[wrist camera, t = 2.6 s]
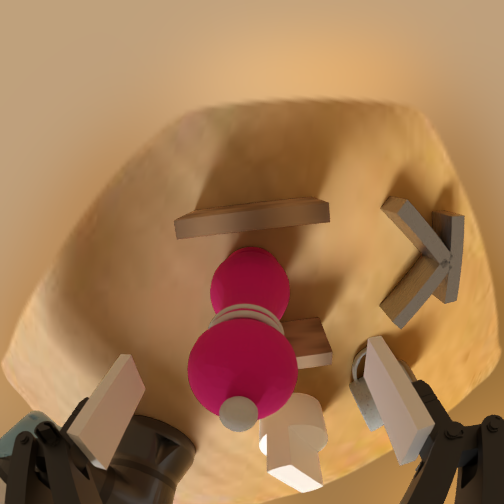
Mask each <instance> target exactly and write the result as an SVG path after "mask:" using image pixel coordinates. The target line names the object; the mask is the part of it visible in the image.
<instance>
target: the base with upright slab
mask: <svg viewBox="0 0 504 504" xmlns="http://www.w3.org/2000/svg"><path fill="white" fill-rule="evenodd" d="M327 441H328V435H327V430H326V426H325V421H324V417H323V412H322V408H321V405H320V403H319V401H318V400H317V399H316V398H314V397H313V396H310V395H308V394H303V393H292V395H291V397H290V398H289V400H288V401H287V402H286V404H285V405H284V406H283V407H282V408H280V409H279V410H278V411H277V412H275V413H274V414H271V415H269V416H267V417H265V418H263V419H259V448H260V450H261V452H262V453H263V454H264V455H266V456H267V473H269V474H270V475H272V476H274V477H275V478H277V479H279V480H280V481H282V482H284V483H286V484H287V485H289V486H291V487H293V488H294V489H296V490H298V491H300V492H302V493H304V492H308V491H312V490H315V489H318V488H320V487H322V486H323V480H322V473H321V467H320V461H319V456H318V452H319V451H321V450H322V449H323V448H324V447H325V446H326V444H327Z"/></svg>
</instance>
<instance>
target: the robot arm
mask: <svg viewBox="0 0 504 504" xmlns="http://www.w3.org/2000/svg"><path fill="white" fill-rule="evenodd" d="M364 379H365V381H366V383H367V386H368V388H369V390H370V393H371V395H372V397H373V400H374V402H375V404H376V407H377V409H378V412H379V414H380V416H381V419H382V421H383V424H384V426H385V429H386V431H387V434H388V436H389V439H390V441H391V444H392V447H393V449H394V452H395V454H396V457H397V460H398V462H399V465H403V464H406V463H409V462H412V461H415V460H416V458H417V457H418V455H419V454H420V456H421V459H422V461H421V462H420V464H419V465H418V467H417V468H416V473H415V475H414V477H413V479H412V481H411V483H410V485H409V487H408V489H407V491H406V493H405V495H404V497H403V499H402V500H401V502H400V504H443V503H444V501H445V499H446V496H447V494H448V491H449V488H450V486H451V483H452V481H453V478H454V475H455V472H456V469H457V468H458V478H457V488H456V497H455V504H504V420H503V419H502V418H501V417H500V416H498V415H490V416H487V417H486V418H485V419H484V420H483V422H482V424H479V425H473V426H463V425H462V424H461V423H458V422H453V421H452V420H451V419H450V417H449V415H448V414H447V412H446V411H445V409H444V407H443V406H442V404H441V403H440V401H439V400H438V399H437V397H436V395H435V394H434V392H433V390H432V389H431V387H430V386H429V385H428V384H427V383H425V382H424V381H422V380H418V381H415V382H410V380H409V379H408V377H407V375H406V374H405V372H404V371H403V369H402V367H401V366H400V364H399V363H398V361H397V359H396V358H395V356H394V355H393V353H392V352H391V350H390V348H389V347H388V345H387V344H386V342H385V341H384V339H383V338H382V336H376V337H370V338H368V343H367V352H366V361H365V368H364ZM145 390H146V389H145V386H144V384H143V382H142V379H141V377H140V375H139V372H138V370H137V368H136V365H135V363H134V360H133V358H132V355H131V354H120V355H119V357H118V358H117V360H116V361H115V362H114V364H113V365H112V367H111V368H110V369H109V371H108V372H107V374H106V375H105V376H104V378H103V379H102V381H101V382H100V383H99V385H98V386H97V388H96V389H95V391H94V392H93V393H92V395H91V396H90V398H88V397H86V398H85V399H83V400H82V401H81V402H79V404H78V405H77V407H76V408H75V410H74V411H73V412H72V415H70V417H69V418H68V420H67V421H66V423H65V424H64V426H63V427H60V426H58V425H57V424H56V423H55V422H54V421H52V420H51V419H50V418H49V417H48V416H47V415H46V414H44V413H43V412H40V411H31V412H30V413H29V414H27V415H26V416H25V417H24V418H23V419H21V420H20V421H19V422H18V423H17V424H16V425H15V426H14V427H12V428H11V429H10V430H9V431H8V432H7V433H6V434H5V435H3V436H2V437H1V438H0V504H173V499H174V495H175V491H176V487H177V484H178V483H179V481H180V480H181V479H182V477H183V476H184V475H185V473H186V472H187V471H188V469H189V468H190V467H191V465H192V463H193V461H194V456H195V447H194V445H193V444H192V442H191V441H190V440H189V439H188V438H187V437H186V436H185V435H184V434H183V433H181V432H180V431H178V430H177V429H175V428H173V427H171V426H170V425H168V424H165V423H163V422H161V421H158V420H155V419H152V418H148V417H144V416H137V415H133V414H134V412H135V410H136V408H137V406H138V404H139V402H140V400H141V398H142V396H143V394H144V392H145Z"/></svg>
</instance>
